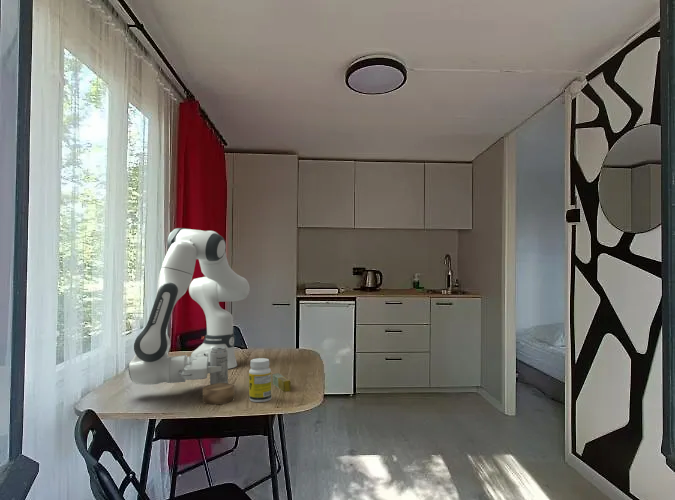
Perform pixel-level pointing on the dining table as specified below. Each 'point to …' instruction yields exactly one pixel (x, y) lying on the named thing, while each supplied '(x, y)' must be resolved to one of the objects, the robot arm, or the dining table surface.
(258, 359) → the supplement bottle
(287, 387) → the medication box
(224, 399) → the wooden bowl
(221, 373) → the energy drink can
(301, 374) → the dining table surface
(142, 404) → the dining table surface
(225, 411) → the dining table surface
